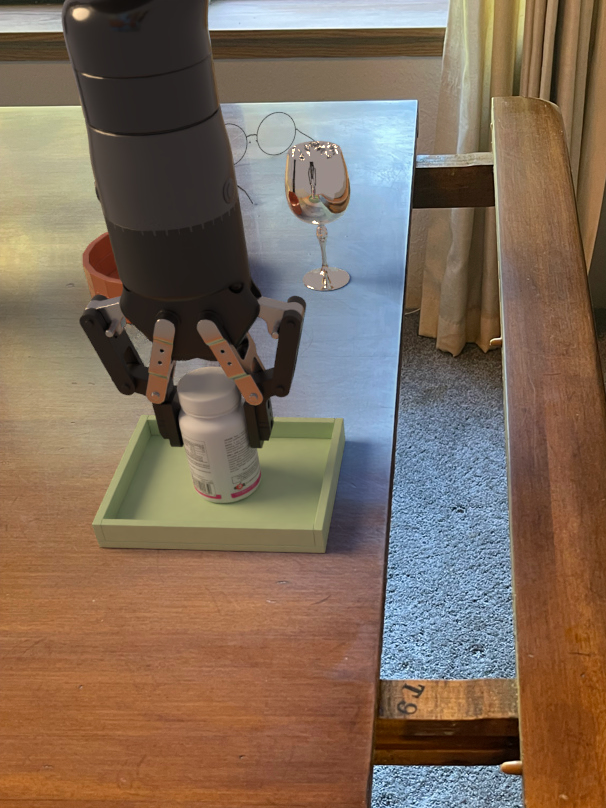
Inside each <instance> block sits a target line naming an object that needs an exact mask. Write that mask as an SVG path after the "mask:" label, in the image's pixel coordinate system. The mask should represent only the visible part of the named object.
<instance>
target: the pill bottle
mask: <svg viewBox="0 0 606 808" xmlns="http://www.w3.org/2000/svg"><path fill="white" fill-rule="evenodd" d="M176 385H177V392H178V397H179V402H180V405H181V409H180V412H179V415H178V420H179V426H180V430H181V434H182V439H183V443H184V447H185V451H186V455H187V460H188V464H189V468H190V472H191V476H192V480H193V484H194V487H195V490H196V492H197V493H198V494H199V495H200V496H201V497H202V498H203V499H205V500H208V501H211V502H216V503H229V502H235V501H239V500H241V499H244V498H246V497H248V496H249V495H251V494H252V493H253V492H254V491H255V490H256V489H257V488H258V486H259V484H260V481H261V469H260V463H259V457H258V451H257V448H251V447H250V441H249V435H248V430H247V424H246V418H245V413H244V407H243V405H244V402H245V399H244V397H243V396H242V394H241V392H240V390H239V389H238V387H237V385H236V384H235V382H234V380H232V379H231V380H230V379H229V378H228V377H227V376H226V374H225V372H224V370H223V369H222V367H221V366H204V367H198V368H196V369H193V370H191V371H189V372H187V373H186V374H184V375H183V376H182V377H181V378H180V379H179V380H178V382H177V384H176Z"/></svg>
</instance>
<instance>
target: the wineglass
mask: <svg viewBox="0 0 606 808" xmlns="http://www.w3.org/2000/svg"><path fill="white" fill-rule="evenodd" d="M286 152H287V153H286V160H285V168H284V192H285V198H286V202H287V203H286V204H287V206H288V208H289V210H290V212H291V213H292V214H293V216H295V218H297V219H298V220H299V221H301V222H303V223H306V224H308V225H313V226H317V227H316V233H315V235H316V238H317V240H318V244H319V246H320V247H319V248H320V253H321V254H320V255H321V267H318V268H313V269H312V270H309V271H307V272H306V273H305V274H304V276H303V277H302V283H303V285H304V287H306V288H308V289H310V290H313V291H320V292H326V291H334V290H338V289H340V288H343V287H345V286H346V285H347V284H348V283H349V282H350V280H351V278H350V277H351V276H350V274H349V273H348V272H347V271H346V270H345V269H342V268H339V267H335V266H334V267H333V266H329V264H328V259H327V257H328V256H327V239H328V234H329V232H328V229H327V227H326V226H325V225H329V224H331V223H334V222H336V221H338V220H339V219H341V218H342V217H343V216H344V215H345V213H346V212H347V210H348V208H349V206H350V202H351V188H352V187H351V179H350V174H349V171H348V165H347V162H346V160H345V157H344V153H343V150H342V147H341V146H340V145H338V144H337V143H335V142H331V141H328V140H327V141H326V140H315V141H313V140H309V141H304V142H300V143H297V144H295V145H292V146H290V147H289V149H288V150H287V151H286Z"/></svg>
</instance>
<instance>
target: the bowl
mask: <svg viewBox="0 0 606 808" xmlns="http://www.w3.org/2000/svg"><path fill="white" fill-rule="evenodd" d="M81 257H82V259H81V263H82V264H81V265H82V268H83V272H84V274H85V278H86V279H85V280H86V282H87V286H88V289H89V294H90V297H91V299H92V298H93V296H95V295H103V296H105V297H107V298H108V299H111V298H115V297H119V296H121V295H122V291H123V284H122V282H121V280H120V278H119V274H118V270H117V266H116V262H115V258H114V254H113V250H112V246H111V242H110V238H109V234H108V231H105V232H103V233H102V234H100V235H99V236H97V237H96V238H94V239H93V240H91V241H90V242H89V243H88V244H87V246H86V247H85V249H84V251H83V252H82V254H81ZM125 319H126V324H131V325H133V324H132V323H131V322H130V321H129V320H128V319H127V318H126V317H125Z"/></svg>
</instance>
